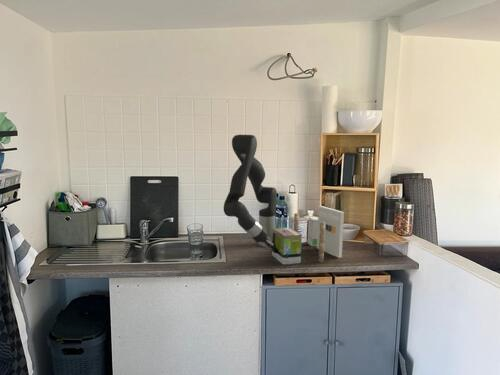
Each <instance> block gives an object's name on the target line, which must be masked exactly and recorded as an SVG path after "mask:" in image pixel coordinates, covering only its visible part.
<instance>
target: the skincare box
mask: <svg viewBox="0 0 500 375" xmlns="http://www.w3.org/2000/svg"><path fill="white" fill-rule="evenodd" d="M307 226H308V227H307V244H308V245H309V246H311V247H317V232H318V216H312V217H311V216H309V217H308V225H307Z"/></svg>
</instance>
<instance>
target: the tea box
mask: <svg viewBox="0 0 500 375" xmlns="http://www.w3.org/2000/svg"><path fill="white" fill-rule="evenodd" d="M302 239H303V236H302V233H300V232H299V231H298V232H296V231H295V230H294V228H293V229H292V228H291V227H279V228H276V227H275V229H273V239H272V242H274V243H275V245H276V248H277V249H278V252H277V253H274V252H273V251H272V250H271V256H272V257H274V258H275V259H276V260H278V262H279V263H280V264H281V265H293V264H294V265H295V264H301V261H302V241H303V240H302Z"/></svg>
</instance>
